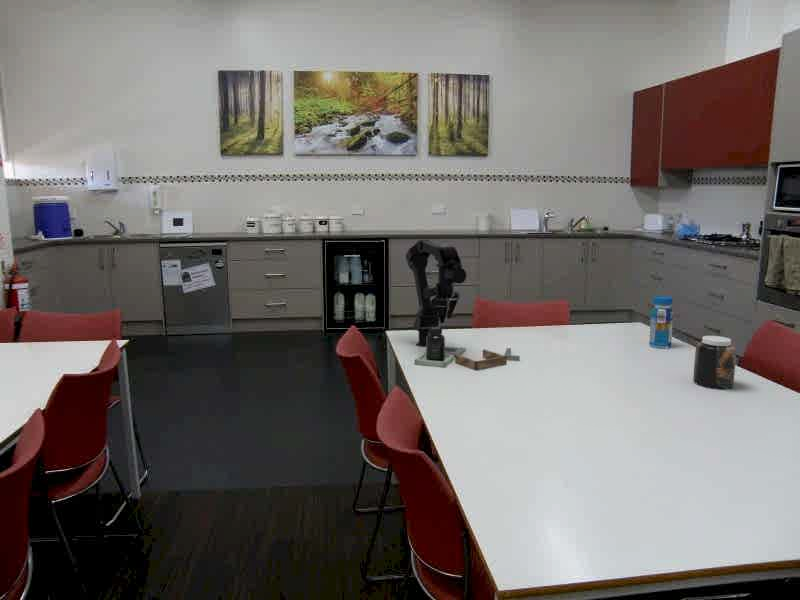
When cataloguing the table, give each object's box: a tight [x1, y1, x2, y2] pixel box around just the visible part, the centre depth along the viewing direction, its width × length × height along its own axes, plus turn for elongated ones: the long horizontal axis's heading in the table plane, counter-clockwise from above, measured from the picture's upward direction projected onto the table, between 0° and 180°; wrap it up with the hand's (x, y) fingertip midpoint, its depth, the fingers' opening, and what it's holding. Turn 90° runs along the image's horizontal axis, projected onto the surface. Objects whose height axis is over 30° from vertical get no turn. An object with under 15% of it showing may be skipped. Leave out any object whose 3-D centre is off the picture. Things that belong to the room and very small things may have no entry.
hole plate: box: [445, 345, 467, 356], centre depth 248 cm, size 10×10×1 cm
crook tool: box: [503, 347, 521, 362], centre depth 243 cm, size 12×6×2 cm, turn 166°
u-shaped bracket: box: [454, 349, 508, 371], centre depth 233 cm, size 12×14×3 cm
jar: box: [692, 335, 737, 389], centre depth 207 cm, size 12×12×15 cm
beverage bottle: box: [648, 295, 674, 349], centre depth 255 cm, size 8×8×20 cm
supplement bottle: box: [425, 326, 446, 361], centre depth 234 cm, size 7×7×12 cm
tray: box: [414, 351, 455, 368], centre depth 236 cm, size 12×12×2 cm
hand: (445, 320), depth 244 cm, fingers open, 9 cm apart
